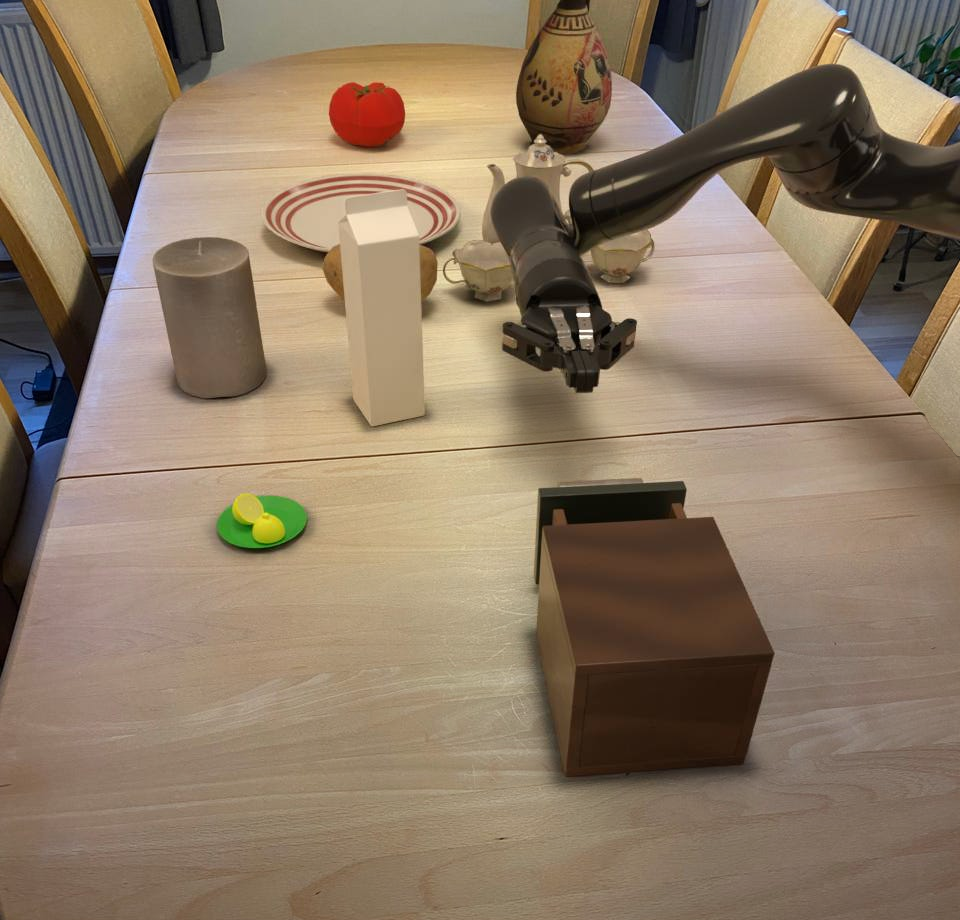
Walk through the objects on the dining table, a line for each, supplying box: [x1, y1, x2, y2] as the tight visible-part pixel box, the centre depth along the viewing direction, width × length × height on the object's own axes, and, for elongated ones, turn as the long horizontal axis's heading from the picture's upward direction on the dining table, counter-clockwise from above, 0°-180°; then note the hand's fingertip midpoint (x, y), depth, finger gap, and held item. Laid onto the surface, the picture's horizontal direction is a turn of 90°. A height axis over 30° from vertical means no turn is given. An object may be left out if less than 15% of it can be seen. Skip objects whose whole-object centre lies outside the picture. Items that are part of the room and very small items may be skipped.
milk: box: [338, 189, 426, 427], centre depth 101 cm, size 6×6×22 cm
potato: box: [322, 244, 439, 304], centre depth 123 cm, size 10×14×8 cm
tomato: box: [328, 81, 406, 148], centre depth 170 cm, size 14×13×9 cm
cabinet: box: [535, 516, 775, 777], centre depth 74 cm, size 15×13×11 cm
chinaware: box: [442, 134, 655, 302], centre depth 128 cm, size 28×17×17 cm, turn 114°
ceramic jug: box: [515, 0, 613, 155], centre depth 162 cm, size 17×15×30 cm
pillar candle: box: [152, 236, 268, 399], centre depth 108 cm, size 10×10×15 cm
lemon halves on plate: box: [216, 492, 308, 549], centre depth 92 cm, size 8×8×3 cm
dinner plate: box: [260, 172, 462, 253], centre depth 143 cm, size 28×27×3 cm
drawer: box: [533, 477, 688, 586], centre depth 80 cm, size 18×12×9 cm, turn 6°
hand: (585, 383), depth 87 cm, fingers closed
